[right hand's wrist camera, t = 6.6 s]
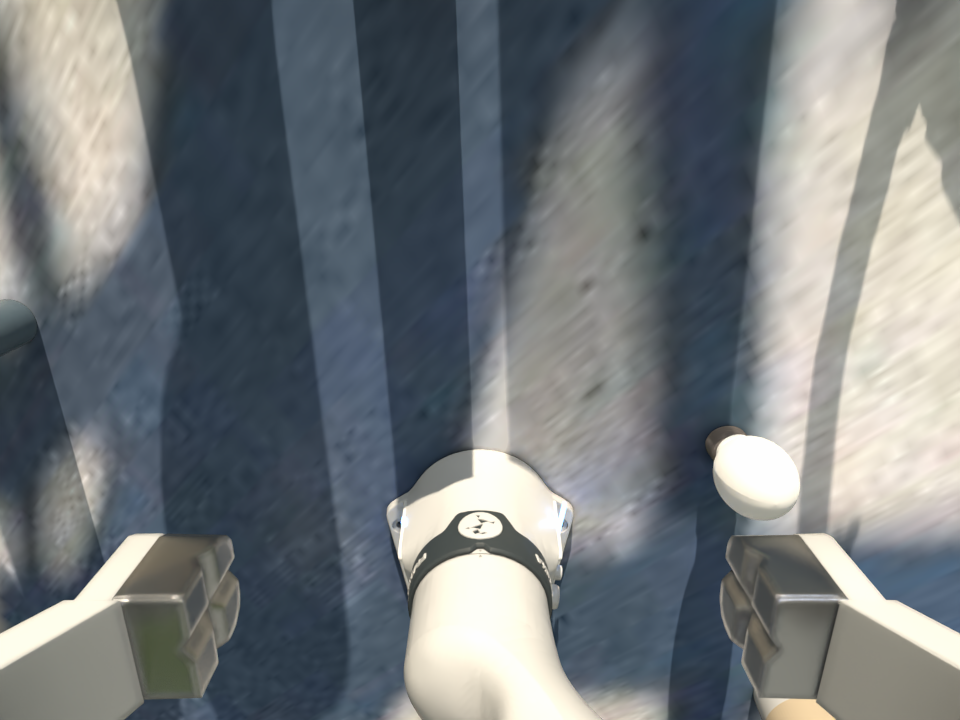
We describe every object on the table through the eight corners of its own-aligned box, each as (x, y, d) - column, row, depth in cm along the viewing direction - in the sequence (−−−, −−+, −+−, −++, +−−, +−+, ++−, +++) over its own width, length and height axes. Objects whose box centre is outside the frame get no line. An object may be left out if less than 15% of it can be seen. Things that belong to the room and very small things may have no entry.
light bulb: (686, 469, 64) (725, 536, 54) (700, 407, 62) (744, 464, 52) (753, 474, 65) (805, 542, 54) (770, 412, 62) (828, 471, 52)
